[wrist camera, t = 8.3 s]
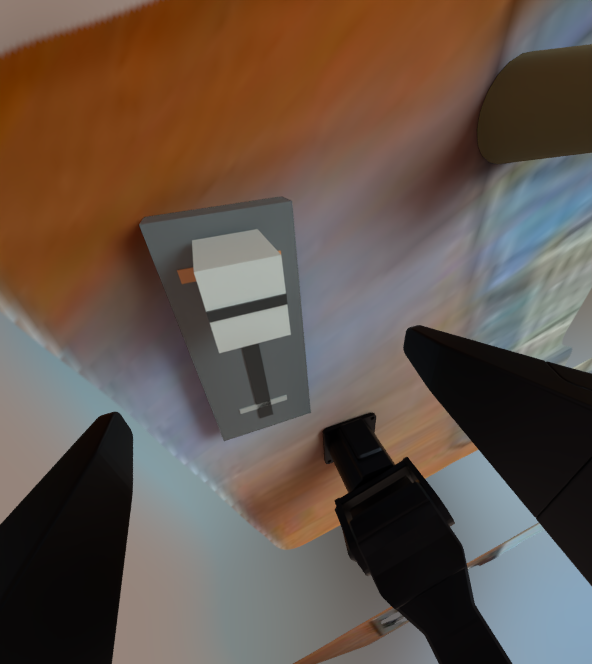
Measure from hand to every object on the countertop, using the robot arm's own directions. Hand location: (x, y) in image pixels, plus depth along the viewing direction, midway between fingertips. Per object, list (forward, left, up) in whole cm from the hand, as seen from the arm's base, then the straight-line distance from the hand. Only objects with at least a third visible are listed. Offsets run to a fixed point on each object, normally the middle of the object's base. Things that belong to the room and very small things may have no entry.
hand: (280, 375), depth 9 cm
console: (-6, 0, -12) cm, 13 cm away
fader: (0, 0, -9) cm, 9 cm away
